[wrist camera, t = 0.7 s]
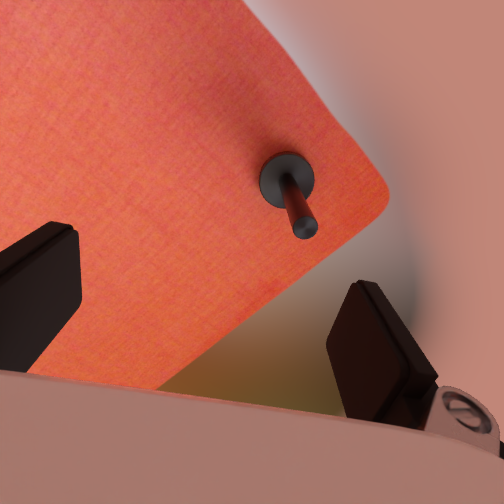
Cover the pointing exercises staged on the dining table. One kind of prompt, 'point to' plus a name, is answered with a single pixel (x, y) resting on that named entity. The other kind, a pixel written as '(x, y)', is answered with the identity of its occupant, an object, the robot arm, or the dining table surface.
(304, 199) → the black plunger
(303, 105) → the dining table surface
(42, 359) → the dining table surface
